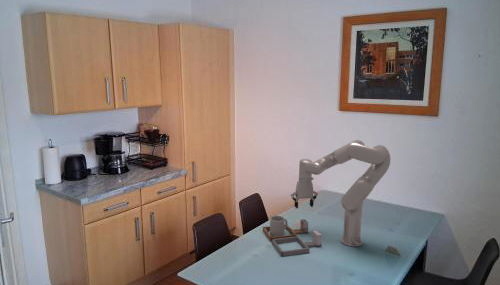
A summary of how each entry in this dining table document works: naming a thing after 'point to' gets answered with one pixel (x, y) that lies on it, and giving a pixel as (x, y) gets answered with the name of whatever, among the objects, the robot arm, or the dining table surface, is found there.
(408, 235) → the dining table surface
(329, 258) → the dining table surface
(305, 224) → the brown frame with handle
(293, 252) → the grey frame with handle
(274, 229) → the mug
